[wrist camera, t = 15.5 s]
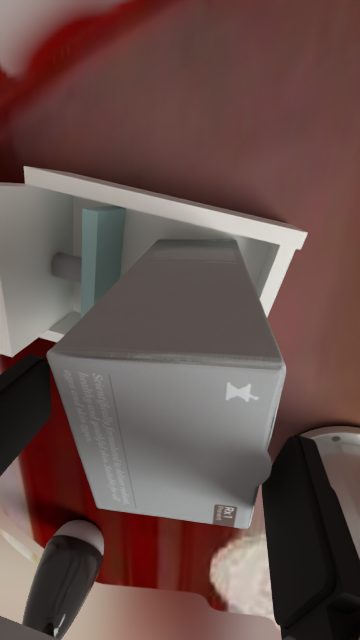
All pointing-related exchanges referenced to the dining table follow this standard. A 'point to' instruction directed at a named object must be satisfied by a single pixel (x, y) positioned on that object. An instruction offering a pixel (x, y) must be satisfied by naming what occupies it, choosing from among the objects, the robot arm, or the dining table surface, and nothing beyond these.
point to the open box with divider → (139, 235)
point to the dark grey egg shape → (64, 578)
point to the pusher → (95, 254)
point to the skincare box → (174, 386)
